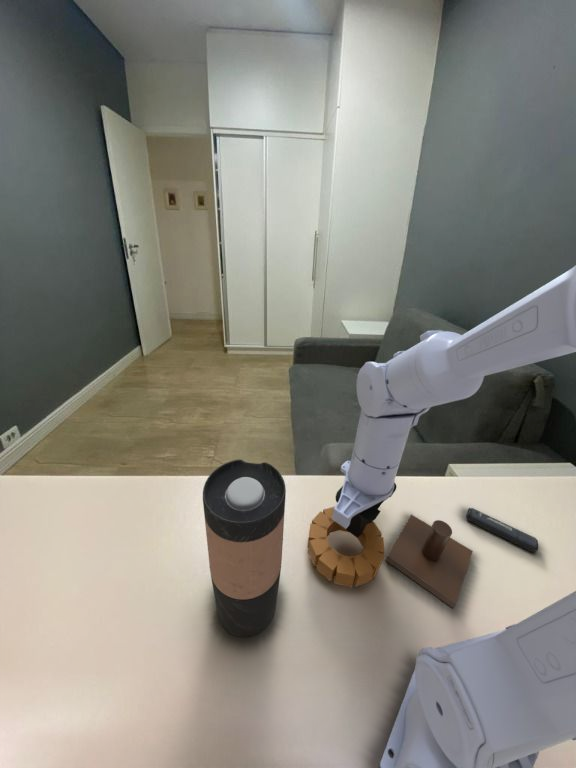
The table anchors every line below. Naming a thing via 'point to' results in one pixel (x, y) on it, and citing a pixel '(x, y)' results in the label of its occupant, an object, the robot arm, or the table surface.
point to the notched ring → (340, 565)
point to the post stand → (431, 558)
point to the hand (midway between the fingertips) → (358, 524)
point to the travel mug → (245, 542)
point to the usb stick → (502, 530)
